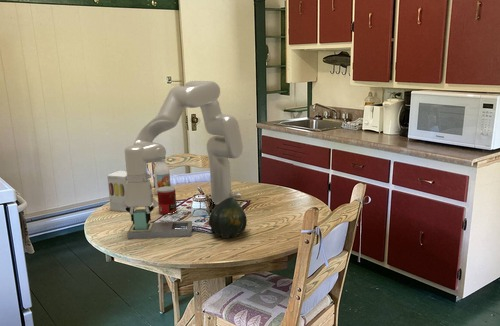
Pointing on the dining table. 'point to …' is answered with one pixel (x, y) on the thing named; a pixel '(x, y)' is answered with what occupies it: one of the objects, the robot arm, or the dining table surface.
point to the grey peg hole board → (161, 230)
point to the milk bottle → (161, 175)
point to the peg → (140, 219)
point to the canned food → (166, 199)
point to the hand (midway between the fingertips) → (141, 222)
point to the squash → (228, 218)
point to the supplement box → (117, 190)
